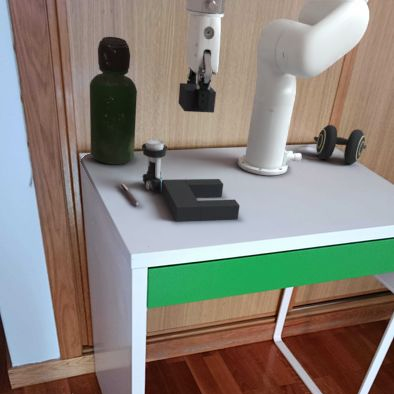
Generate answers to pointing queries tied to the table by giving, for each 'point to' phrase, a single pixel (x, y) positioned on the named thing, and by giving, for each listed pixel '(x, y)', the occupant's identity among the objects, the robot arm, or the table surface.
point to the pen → (129, 194)
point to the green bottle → (113, 104)
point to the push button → (153, 164)
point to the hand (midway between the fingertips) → (196, 104)
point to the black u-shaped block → (198, 209)
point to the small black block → (188, 95)
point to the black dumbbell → (330, 139)
